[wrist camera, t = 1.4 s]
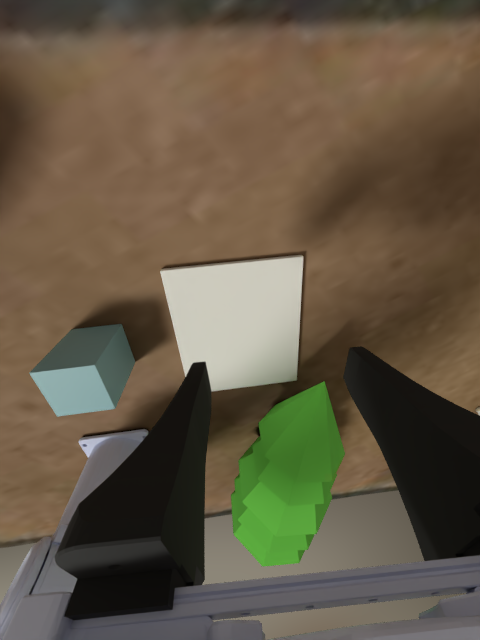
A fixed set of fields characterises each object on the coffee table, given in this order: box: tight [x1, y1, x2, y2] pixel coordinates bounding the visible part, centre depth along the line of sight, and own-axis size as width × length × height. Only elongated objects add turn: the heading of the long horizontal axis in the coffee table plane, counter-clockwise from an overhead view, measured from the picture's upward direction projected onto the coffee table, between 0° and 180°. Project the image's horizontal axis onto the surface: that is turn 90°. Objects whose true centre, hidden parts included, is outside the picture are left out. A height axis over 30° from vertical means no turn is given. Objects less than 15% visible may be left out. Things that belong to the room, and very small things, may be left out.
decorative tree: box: [231, 381, 345, 566], centre depth 28 cm, size 11×12×30 cm
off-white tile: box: [160, 255, 303, 392], centre depth 24 cm, size 14×12×1 cm
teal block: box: [29, 324, 135, 416], centre depth 21 cm, size 4×4×6 cm
